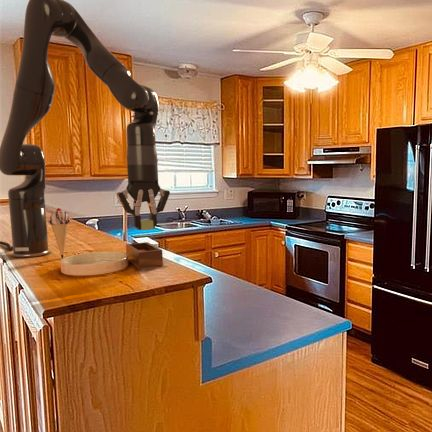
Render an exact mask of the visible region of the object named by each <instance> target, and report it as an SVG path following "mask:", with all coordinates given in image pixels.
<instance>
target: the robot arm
mask: <svg viewBox="0 0 432 432" xmlns="http://www.w3.org/2000/svg"><path fill="white" fill-rule="evenodd" d="M23 26H24V27H23V38H22V49H21V54H20V60H19V66H18V70H17V75H16V79H15V84H14V90H13V95H12V102H11V107H10V112H9V116H8V120H7V123H6V128H5V131H4V134H3V137H2V140H1V143H0V172H1V173H2V174H3V175H5V176H10V177H12V176H13V177H15V176H16V177H18V176H19V177H20V176H21V177H23V176H24V177H25V178H24V180H23V182H22V183H20V184H18V185H16V186H14V187H12V188H9V189H8V191H7V196H8V208H9V209H8V210H9V219H10V232H11V242H12V246H11V244H10V243H9V242H5V241H3V240H0V245H1V246H5V247H6V248H7V250H8V251H12V257H14V258H20V259H21V258H35V257H36V258H37V257H42V256H45V255H48V254H49V253H50V248H49V236H48V225H47V224H48V223H47V211H46V199H45V197H46V195H45V191H46V158H45V153H44V151H43V149H42V148H41V147H40V146H39V145H37V144H30V143H29V144H28V143H24V142H25V140H26V137H27V136H28V134H29V133H30V131H31V130H32V129H33V128H34V127H35V126H36V125H37V124H38V123H39V122H41V121H42V120H43V119H44V118H45V117H46V116H47V115H48V113H49V111H50V110H51V108H52V104H53V101H54V96H55V90H56V82H55V78H54V75H53V72H52V69H51V65H50V62H49V59H48V58H49V56H48V55H49V45H50V41H51V38H52V37H58V38H64V39H66V40H67V41H69V42H70V43H72V45H74V46H76V48H78V49H79V51H80V52H81V54H82V56H83V59H84V62H85V63H86V66H87V67H88V69H89V70H90V72H91V73H93V74H94V75H95V77H97V78H98V79H99V80H100V81H101V82H102V84H104V85H105V86H106V87H107V88H108V90H109V92H110V93H111V94H112V96H113V97H114V99H115V100H116V101H117V102H118V104H119V105H121V107H122V108H124V109H125V110H127V111H129V112H133V120H132V122H130V123H128V124H127V125H126V129H125V131H126V168H127V169H126V171H127V186H126V188H125V189H124V190H122V191H118V192H116V197H117V198H118V200H119V202H120V204H121V206H122V208H123V209H124V211H125V213H127V214H129V215H132V216H133V227H134V228H135V229H136V230H138V231H142V230H141V219H142V217H141V216H142V215H140V213H141V207H142V203H145V202H146V204H147V206H148V211H149V215H148V216H149V217H148V218H149V219H151V220H153V226H154V229H156V227H157V225H158V222H157V221H158V218H157V217H158V216H157V215H158V214H159V213H161V212H162V213H163V211H164V210H165V207H166V204H167V202H168V200H169V196H170V194H171V191H170V190H167V189H163V188H162V187H161V186H160V184H159V168H158V163H159V159H158V151H157V147H156V143H157V142H156V132H155V131H156V130H155V129H156V125H157V122H158V116H159V115H158V114H159V109H160V108H159V107H160V106H159V103H160V102H159V97H158V95H157V93H156V92H155V90H154V89H153V88H151V87H149V86H146V85H143V84H140V83H139V82H137V81H136V80H134V79H133V77H132V74H131V72H130V70H129V69H128V68H127V67H126V65H125V64H124V63H123V62H121V61H120V59H118V57H116V56H115V55H114V54H113V53H112V52H111V51H110V49H108V48H107V47H106V46H105V45H104V44H103V42H102V41H101V40H100V39H99V38H98V36H96V34H95V33H94V32H93V30H92V29H91V28H90V27H89V25H88V24H87V23H86V21H85V20H84V19H83V17H82V16H81V15H80V13H79V12H78V11H77V9H76V8H75V7H74V6H73V5H72V4H71V3H70V2H68V1H66V0H28V2H27V5H26V8H25V15H24V25H23ZM128 195H129V196H130V197H131V198H132V199H133V200H132V202H133V203H132V207H131V205H130V204H129V201H128V200H127V199H128V197H129V196H128ZM157 195H159V200H158V203H156V197H157Z"/></svg>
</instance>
